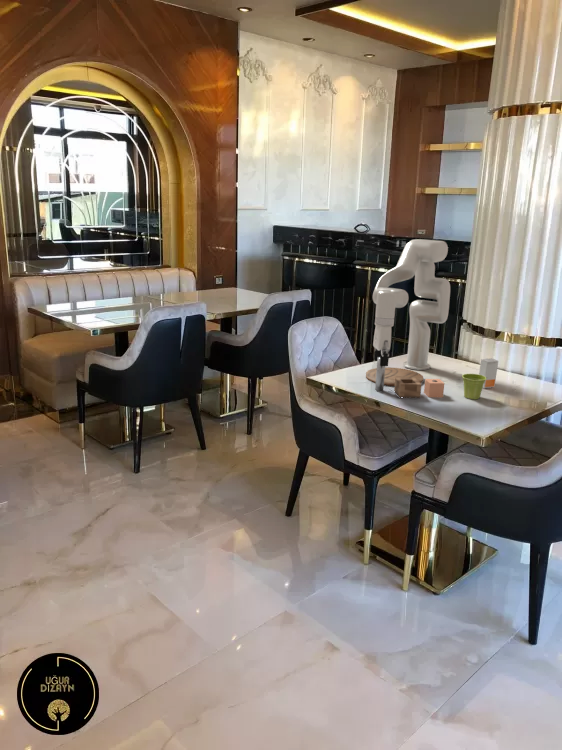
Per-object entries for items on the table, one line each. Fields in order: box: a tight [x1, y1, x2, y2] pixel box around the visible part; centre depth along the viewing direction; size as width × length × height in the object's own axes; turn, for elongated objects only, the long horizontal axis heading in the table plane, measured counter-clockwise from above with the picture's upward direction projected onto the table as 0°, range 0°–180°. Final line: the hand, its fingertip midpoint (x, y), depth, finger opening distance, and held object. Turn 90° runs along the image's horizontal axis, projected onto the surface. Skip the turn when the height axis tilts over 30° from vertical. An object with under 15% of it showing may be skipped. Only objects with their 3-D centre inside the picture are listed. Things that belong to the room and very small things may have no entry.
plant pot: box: [461, 373, 486, 400], centre depth 249 cm, size 9×9×9 cm
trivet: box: [365, 366, 424, 387], centre depth 272 cm, size 25×25×2 cm
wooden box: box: [393, 378, 422, 399], centre depth 250 cm, size 8×8×6 cm
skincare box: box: [478, 357, 499, 389], centre depth 263 cm, size 6×4×12 cm
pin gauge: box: [374, 357, 386, 392], centre depth 253 cm, size 3×3×14 cm
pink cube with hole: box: [423, 378, 445, 398], centre depth 251 cm, size 6×6×6 cm
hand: (380, 363), depth 251 cm, fingers open, 9 cm apart
